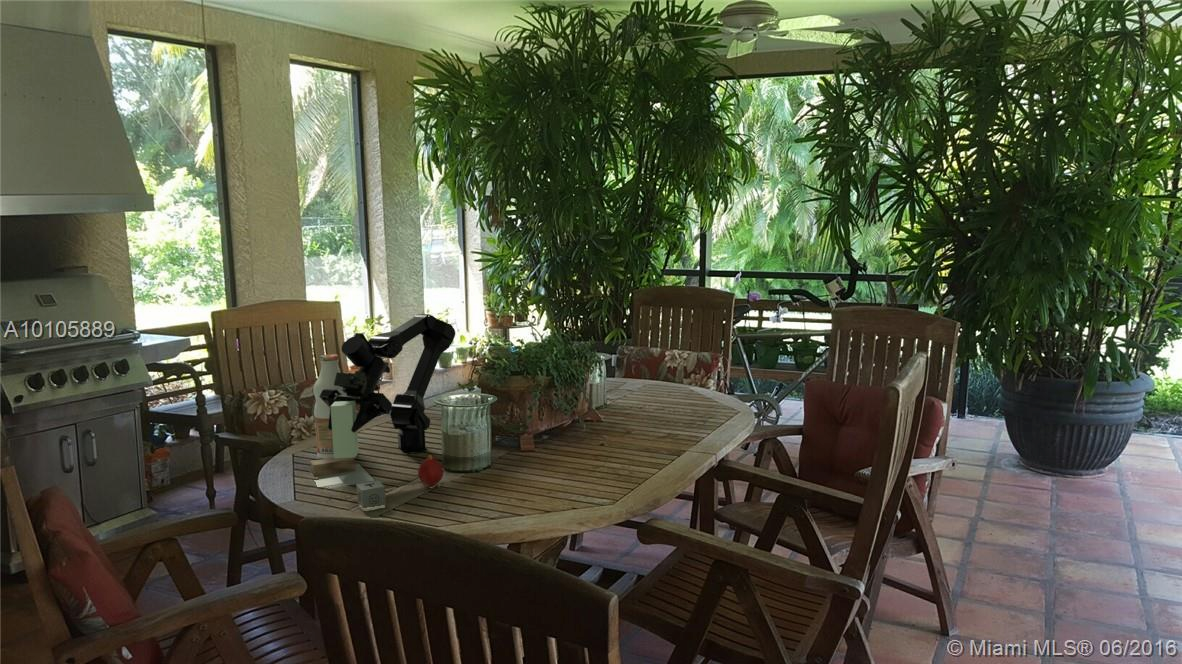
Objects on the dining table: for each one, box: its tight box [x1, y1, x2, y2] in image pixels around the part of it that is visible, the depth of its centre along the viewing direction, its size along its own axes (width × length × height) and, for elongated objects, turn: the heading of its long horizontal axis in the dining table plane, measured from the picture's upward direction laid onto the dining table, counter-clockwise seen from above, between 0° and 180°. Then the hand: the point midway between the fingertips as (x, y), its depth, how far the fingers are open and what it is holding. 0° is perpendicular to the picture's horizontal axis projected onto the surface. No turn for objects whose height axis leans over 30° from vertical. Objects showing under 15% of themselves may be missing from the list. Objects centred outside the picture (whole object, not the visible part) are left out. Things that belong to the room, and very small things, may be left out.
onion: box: [417, 454, 444, 488], centre depth 196 cm, size 6×6×8 cm
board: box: [314, 463, 376, 490], centre depth 202 cm, size 14×16×1 cm
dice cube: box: [355, 480, 387, 508], centre depth 183 cm, size 5×5×5 cm
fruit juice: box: [312, 353, 347, 459], centre depth 220 cm, size 9×9×28 cm
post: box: [331, 401, 360, 458], centre depth 203 cm, size 5×5×13 cm
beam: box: [309, 457, 356, 477], centre depth 206 cm, size 10×4×3 cm, turn 119°
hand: (341, 430), depth 202 cm, fingers closed on post, 7 cm apart
